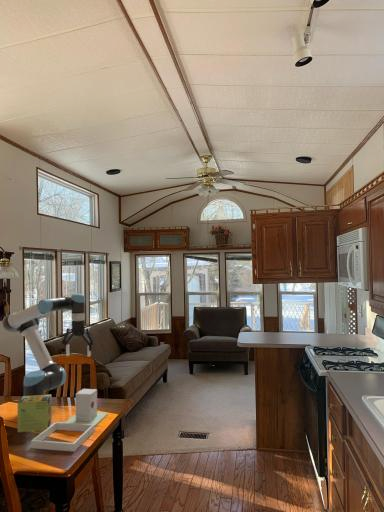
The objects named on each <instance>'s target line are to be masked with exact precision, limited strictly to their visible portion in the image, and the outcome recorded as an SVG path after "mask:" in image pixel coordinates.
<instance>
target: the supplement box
mask: <svg viewBox="0 0 384 512" xmlns="http://www.w3.org/2000/svg"><path fill="white" fill-rule="evenodd" d="M97 412H98V389H96V388H93V389H92V388H82V389H81V390H78V392H77V393H75V414H76V421H88V422H90V421H91V420H93V419H94V418H95V417H96V416H97Z"/></svg>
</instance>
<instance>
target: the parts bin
mask: <svg viewBox="0 0 384 512" xmlns="http://www.w3.org/2000/svg"><path fill="white" fill-rule="evenodd" d="M95 428H96V427H95V425H94V424H79V423H65V422H61V421H55V422H54V423H53V424H52V423H51V425H50V427H48V428H47V429H46V430H42V432H41V433H40V434H38V435H37V436H35V437H34V438H32V440H30V444H31V445H30V448H31V449H35V450H36V449H37V450H38V449H39V450H50V451H60V452H61V451H62V452H73V453H74V452H76V450H78V449H79V447H80V446H82V444H83V443H84V442H86V440H88V438H90V437H91V436H92V435H93V434H94V432H95ZM56 431H72V432H82V434H81V435H80V436H79V437H77V439H76V440H75V441H74V442H66V441H52V440H45V439H47V438H48V437H49V436H51V433H52V434H53V433H54V432H56ZM46 437H47V438H46ZM42 440H43V441H42Z"/></svg>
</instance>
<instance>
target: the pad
mask: <svg viewBox="0 0 384 512" xmlns="http://www.w3.org/2000/svg"><path fill="white" fill-rule="evenodd" d="M108 415H109V414H108V412H98V411H97V416H96V417H95V418H94V419H93V420H91V421H90V422H88V421H76V413H74V414H73V415H72V416H70V417H69V419H67V420H65V422H64V423H79V424H94V425H95V428H96V427H97V426H98V425H99V424H100V423H101V422H102V421H103V420H105V418H106V417H107V416H108Z"/></svg>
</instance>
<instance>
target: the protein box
mask: <svg viewBox="0 0 384 512" xmlns="http://www.w3.org/2000/svg"><path fill="white" fill-rule="evenodd" d="M52 411H53V409H52V394H45V395H35V396H24V395H23V396H22V397H21V399H20V400H19V401H18V402H17V433H26V432H29V433H30V432H38V431H41V430H42V431H45V430H46V429H47V428H48V427H50V426H51V425H52V422H53V420H52V418H53V417H52Z"/></svg>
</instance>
